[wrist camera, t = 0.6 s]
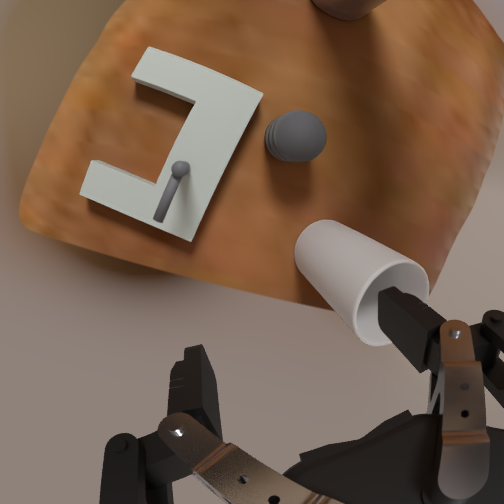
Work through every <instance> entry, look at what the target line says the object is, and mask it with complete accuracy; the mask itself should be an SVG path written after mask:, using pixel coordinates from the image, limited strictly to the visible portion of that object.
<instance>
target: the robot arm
mask: <svg viewBox="0 0 504 504" xmlns="http://www.w3.org/2000/svg"><path fill="white" fill-rule="evenodd" d="M312 1H313V2H314V4H315V5H316V6H317V7H319V8H320V9H321V10H322V11H324V12H325V13H327V14H328V15H330V16H332V17H335V18H338V19H341V20H346V21H353V20H357V19H359V18H361V17H363V16H364V15H366V14H367V13H368V12H370V11H371V10H373V9H374V8H376V7H377V6H379V5H380V4H382V3H383V2H385V1H386V0H312ZM378 324H379V327H380V329H381V330H382V332H383V333H384V334H385V335H386V336H387V337H388V338H389V339H390V341H391V342H392V343H393V344H394V345H395V346H396V347H397V348H398V349H399V350H400V351H401V352H402V354H403V355H404V356H405V357H406V358H407V359H408V360H409V361H410V363H411V364H412V365H413V366H414V367H415V368H416V369H417V370H418V372H419V373H422V372H424V371H425V370H427V369H430V371H431V374H430V385H429V398H428V408H427V414H418V415H414V416H412V415H411V413H410V412H409V410H406V411H404V412H402V413H400V414H398V415H396V416H394V417H392V418H390V419H388V420H386V421H384V422H383V423H381V424H380V425H379V426H378V427H376V428H375V429H373V430H372V431H371V432H369V433H368V434H367V435H365V436H364V437H362V438H361V439H358V440H353V441H348V442H342V443H335V444H328V445H325V446H322V447H320V448H317V449H314V450H311V451H308V452H304V453H301V454H299V455H300V460H301V461H300V462H298V463H297V464H295V465H293V466H292V467H291V468H289V469H288V470H287V471H286V472H284V474H282V475H281V474H279V473H278V472H276V471H274V470H273V469H271V468H270V467H268V466H266V465H264V464H263V463H261V462H260V461H258V460H257V459H255V458H253V457H252V456H251V455H249V454H248V453H246V452H245V451H243V450H242V449H240V448H239V447H238V446H236V445H234V444H232V443H228V444H226V443H225V442H223V438H222V429H221V421H220V412H219V403H218V393H217V383H216V378H215V374H214V371H213V369H212V366H211V364H210V361H209V359H208V357H207V354H206V352H205V349H204V347H203V345H202V344H200V345H196V346H192V347H187V348H185V350H184V360H183V361H178V362H176V363H175V365H174V367H173V368H172V370H171V374H170V385H169V388H170V389H169V399H168V410H167V411H168V412H167V417H165V418H164V419H163V420H162V421H161V422H160V424H159V426H158V430H157V431H155V432H154V433H151V434H149V435H146V436H144V437H141V438H138V439H136V437H135V436H133V435H132V434H129V433H121V434H118V435H115V436H114V437H112V438H111V439H110V440H109V441H108V443H107V445H106V447H105V453H104V461H103V469H102V479H101V490H100V502H99V503H100V504H174V502H173V491H172V482H173V481H176V480H179V479H181V478H184V477H186V476H189V475H191V474H193V475H194V476H195V477H196V478H197V479H198V480H199V481H200V482H201V483H202V484H204V485H205V486H206V487H207V488H208V489H210V490H211V491H212V492H213V493H214V494H215V495H216V496H218V497H219V498H220V499H221V500H222V501H224V502H225V503H226V504H504V429H499V428H493V427H489V426H486V408H485V393H484V386H485V387H486V388H487V389H488V391H489V392H490V393H491V394H492V395H493V396H494V397H495V399H496V400H497V401H498V402H499V403H500V404H501V406H502V407H503V408H504V362H503V361H502V360H501V359H500V358H499V357H498V356H499V354H500V351H502V352H503V353H504V312H502V311H499V310H490V311H487V312H486V313H485V314H484V315H483V319H482V323H478V324H475V325H471V326H468V325H467V324H466V323H465V322H462V321H459V320H449V321H447V320H446V319H444V318H443V317H442V316H440V315H439V314H438V313H437V312H435V311H434V310H433V309H432V308H431V307H428V305H427V304H425V303H424V302H423V301H422V300H420V299H419V298H418V297H416V296H415V295H412V294H409V293H403V292H402V291H400V290H399V289H398V288H396V287H395V286H392V287H389V288H387V289H384V290H381V291H379V293H378Z"/></svg>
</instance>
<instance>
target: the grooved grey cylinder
mask: <svg viewBox="0 0 504 504" xmlns="http://www.w3.org/2000/svg"><path fill="white" fill-rule="evenodd" d="M265 144H266V147H267V149H268V151H269V152H270V154H271V155H272V156H274V157H275V158H276V159H278V160H280V161H284V162H307V161H310V160H312V159H314V158H315V157H317V156H318V155H319V154H320V153H321V152H322V150H323V149H324V146H325V144H326V131H325V128H324V125H323V124H322V122H321V121H320V120H319V118H317V117H316V116H315V115H313V114H311V113H309V112H306V111H300V110H295V111H291V112H288V113H286V114H284V115H282V116H280V117H279V118H277V119H275V120H274V121H272V122H271V123H270V124H269V126H268V127H267V129H266V132H265Z"/></svg>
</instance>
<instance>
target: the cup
mask: <svg viewBox="0 0 504 504" xmlns="http://www.w3.org/2000/svg"><path fill="white" fill-rule="evenodd" d="M294 258H295V263H296V265H297V267H298V269H299V270H300V272H301V273H302V274H303V275H304V276H305V277H306V279H307V280H308V281H309V282H310V283H311V284H312V285H313V287H314V288H315V289H316V290H317V291H318V292H319V293H320V294H321V296H322V297H323V298H324V299H325V300H326V301H327V302H328V304H329V305H330V306H331V307H332V308H333V309H334V310H335V312H336V313H337V314H338V315H339V316H340V317H341V318H342V320H343V321H344V322H345V323H346V324H347V325H348V327H349V328H350V329H351V330H352V331H353V332H354V334H355V335H356V336H357V337H358V338H359V339H360V340H361V341H362V342H364V343H365V344H367V345H370V346H375V347H380V346H386V345H389V344H392V342H391V341H390V339H389V338H388V337H387V336H386V335H385V334H384V333H383V332H382V330H381V329H380V327H379V324H378V293H379V291H381V290H384V289H387V288H389V287H392V286H395V287H396V288H398V289H399V290H400V291H402V292H403V293H409V294H412V295H415V296H416V297H418V298H419V299H420V300H422V301H423V302H424V303H425V304H427V301H428V296H429V280H428V277H427V274H426V272H425V270H424V269H423V268H422V267H421V266H420V265H419V264H418V263H416V262H415V261H413V260H411V259H409V258H407V257H405V256H404V255H402V254H400V253H398V252H396V251H394V250H392V249H390V248H388V247H387V246H385V245H383V244H381V243H379V242H377V241H375V240H373V239H371V238H369V237H367V236H365V235H363V234H361V233H359V232H357V231H355V230H353V229H351V228H349V227H347V226H345V225H343V224H341V223H339V222H336V221H333V220H319V221H316V222H314V223H312V224H310V225H309V226H308V227H306V228H305V229H304V230H303V232H302V233H301V234H300V236H299V237H298V239H297V242H296V245H295V249H294Z"/></svg>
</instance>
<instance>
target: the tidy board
mask: <svg viewBox="0 0 504 504" xmlns="http://www.w3.org/2000/svg"><path fill="white" fill-rule="evenodd" d="M131 77H132V79H133V80H134V81H135V82H137V83H140V84H142V85H145V86H148V87H151V88H153V89H156V90H159V91H161V92H164V93H167V94H169V95H172V96H174V97H177V98H179V99H182V100H184V101H187V102H189V103H192V104H194V106H193V108H192V110H191V112H190V114H189V115H188V117H187V119H186V121H185V123H184V125H183V127H182V129H181V131H180V133H179V135H178V137H177V139H176V141H175V143H174V146H173V148H172V150H171V152H170V154H169V156H168V158H167V160H166V163H165V165H164V167H163V169H162V172H161V174H160V176H159V178H158V181H157V183H156V184H155V183H153V182H150V181H148V180H145V179H143V178H141V177H138V176H136V175H133V174H131V173H129V172H126V171H124V170H121V169H119V168H117V167H114V166H112V165H109V164H107V163H104V162H102V161H100V160H91V163H90V166H89V168H88V171H87V174H86V176H85V179H84V182H83V185H82V188H81V191H80V195H82V196H84V197H87V198H89V199H91V200H94V201H96V202H98V203H101V204H103V205H105V206H107V207H110V208H112V209H114V210H117V211H119V212H121V213H124V214H126V215H128V216H131V217H133V218H135V219H138V220H140V221H142V222H145V223H147V224H149V225H152V226H154V227H157V228H159V229H161V230H164V231H166V232H168V233H171V234H173V235H176V236H178V237H180V238H183V239H185V240H187V241H190V242H191V241H192V239H193V237H194V235H195V232H196V230H197V228H198V226H199V223H200V221H201V219H202V217H203V214H204V212H205V210H206V208H207V206H208V204H209V201H210V199H211V197H212V195H213V193H214V191H215V189H216V186H217V184H218V182H219V180H220V178H221V176H222V174H223V172H224V170H225V168H226V166H227V164H228V162H229V160H230V158H231V156H232V154H233V152H234V150H235V148H236V146H237V144H238V142H239V140H240V138H241V136H242V134H243V132H244V130H245V128H246V126H247V124H248V122H249V120H250V118H251V116H252V115H253V113H254V111H255V109H256V107H257V105H258V103H259V101H260V100H261V98H262V96H263V93H261V92H259V91H257V90H255V89H253V88H251V87H249V86H247V85H245V84H243V83H241V82H239V81H236V80H234V79H232V78H230V77H228V76H225V75H223V74H221V73H218V72H216V71H214V70H211V69H209V68H207V67H204V66H202V65H199V64H197V63H194V62H191V61H189V60H186V59H184V58H181V57H178V56H175V55H173V54H170V53H167V52H164V51H161V50H158V49H155V48H152V47H148V49H147V50H146V52H145V53H144V55H143V57H142V58H141V60H140V62H139V63H138V65H137V67H136V68H135V70H134V72H133V74H132V75H131Z"/></svg>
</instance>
